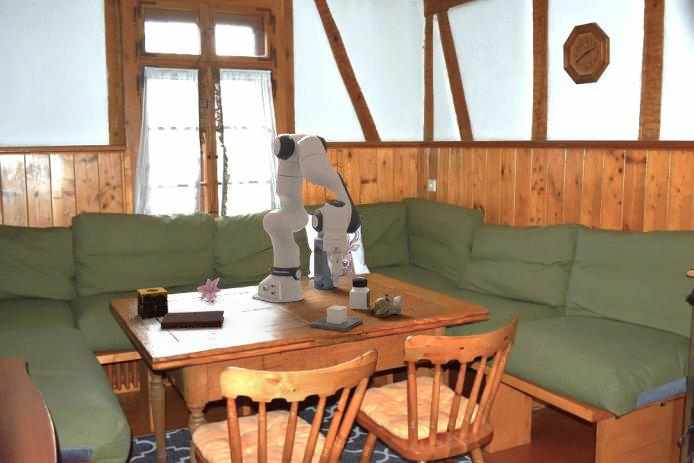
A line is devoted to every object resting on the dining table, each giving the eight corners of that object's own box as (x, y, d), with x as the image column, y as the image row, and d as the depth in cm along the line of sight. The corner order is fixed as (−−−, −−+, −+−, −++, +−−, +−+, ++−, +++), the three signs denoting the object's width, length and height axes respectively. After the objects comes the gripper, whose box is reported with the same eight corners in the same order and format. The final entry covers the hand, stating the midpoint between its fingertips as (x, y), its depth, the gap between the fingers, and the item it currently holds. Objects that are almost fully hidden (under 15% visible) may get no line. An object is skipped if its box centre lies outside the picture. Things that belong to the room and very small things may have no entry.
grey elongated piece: (309, 287, 321) (309, 222, 317) (325, 284, 328) (325, 220, 324) (323, 290, 314) (322, 224, 310) (339, 287, 321) (339, 222, 317)
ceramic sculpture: (408, 293, 265) (374, 300, 259) (410, 315, 267) (376, 322, 260) (394, 288, 275) (361, 295, 268) (395, 310, 276) (362, 316, 269)
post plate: (310, 326, 251) (310, 314, 251) (329, 318, 264) (329, 306, 263) (344, 331, 245) (344, 318, 244) (362, 322, 257) (362, 310, 256)
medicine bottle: (367, 309, 277) (367, 280, 275) (349, 309, 278) (349, 279, 277) (370, 305, 284) (370, 276, 282) (352, 305, 285) (352, 276, 284)
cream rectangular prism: (334, 318, 258) (334, 305, 257) (347, 320, 255) (347, 306, 254) (326, 322, 253) (326, 308, 252) (339, 324, 250) (339, 309, 250)
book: (221, 329, 251) (221, 319, 250) (160, 330, 249) (160, 320, 248) (224, 319, 265) (224, 310, 264) (166, 321, 263) (166, 311, 262)
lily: (196, 299, 301) (191, 284, 296) (218, 287, 305) (213, 272, 300) (208, 311, 293) (203, 296, 288) (230, 299, 298) (225, 283, 293)
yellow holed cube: (142, 320, 262) (140, 294, 261) (136, 314, 271) (135, 289, 270) (169, 316, 267) (168, 291, 266) (162, 311, 276) (161, 286, 275)
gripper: (346, 250, 241) (346, 289, 242) (341, 241, 261) (340, 277, 263) (328, 250, 240) (328, 289, 242) (324, 241, 260) (324, 277, 262)
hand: (334, 283), depth 252 cm, fingers open, 8 cm apart
